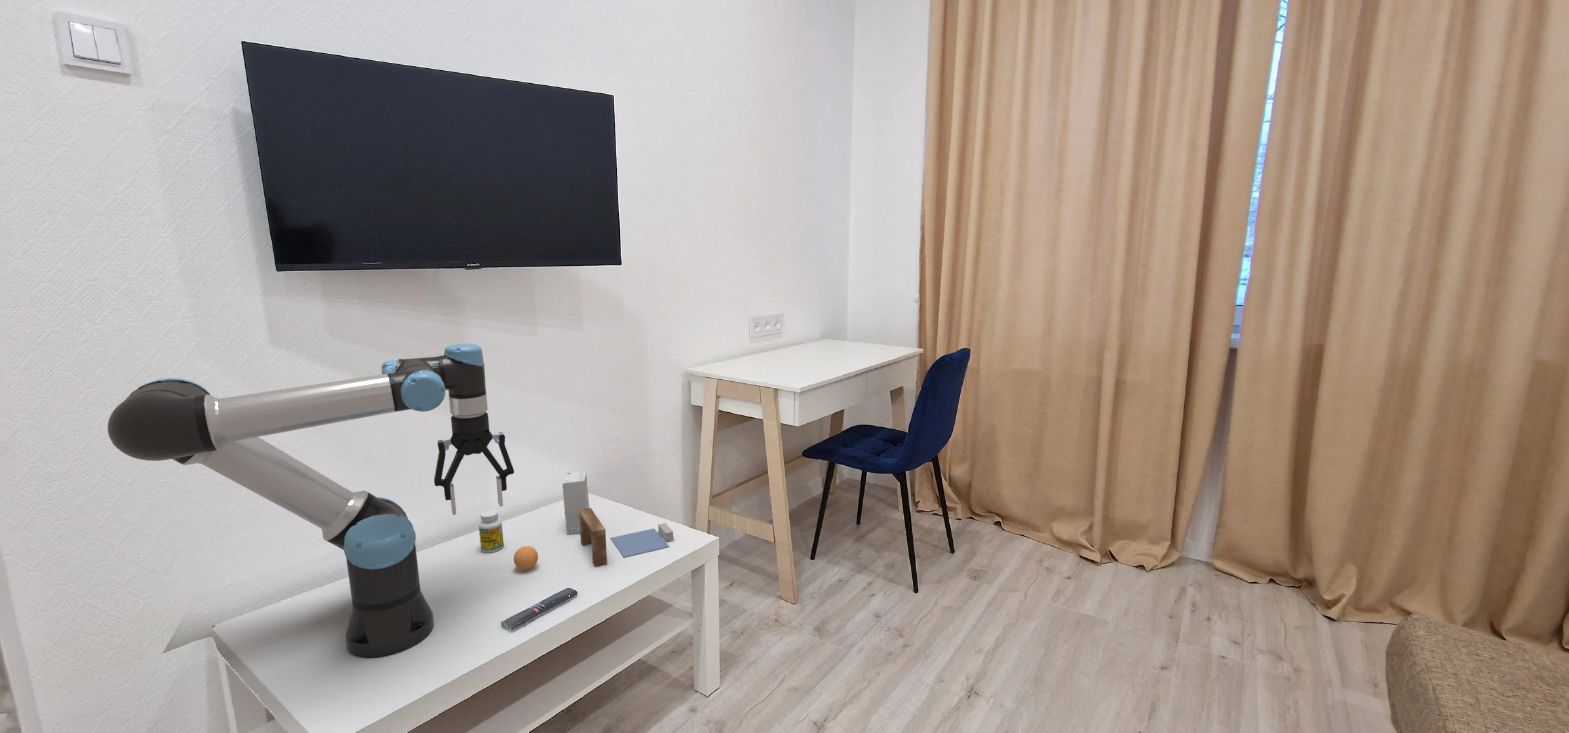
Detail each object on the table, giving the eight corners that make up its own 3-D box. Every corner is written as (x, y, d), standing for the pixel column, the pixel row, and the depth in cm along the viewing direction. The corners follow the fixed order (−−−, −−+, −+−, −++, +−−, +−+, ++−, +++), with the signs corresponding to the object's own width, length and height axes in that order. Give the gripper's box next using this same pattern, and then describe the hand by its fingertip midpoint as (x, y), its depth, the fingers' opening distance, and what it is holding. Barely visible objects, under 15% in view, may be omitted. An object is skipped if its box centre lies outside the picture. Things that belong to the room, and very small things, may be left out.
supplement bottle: (506, 543, 172) (503, 508, 170) (500, 552, 166) (497, 517, 164) (484, 544, 171) (481, 509, 169) (478, 553, 166) (474, 518, 164)
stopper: (666, 542, 173) (665, 533, 172) (658, 533, 178) (658, 524, 178) (673, 540, 174) (673, 531, 173) (665, 531, 179) (665, 523, 179)
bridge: (594, 567, 160) (592, 531, 158) (580, 542, 172) (579, 510, 170) (607, 564, 161) (605, 529, 159) (592, 540, 174) (590, 507, 172)
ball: (516, 576, 155) (514, 554, 154) (512, 566, 160) (511, 545, 159) (540, 570, 158) (539, 549, 157) (536, 560, 162) (535, 540, 161)
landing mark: (623, 557, 164) (623, 557, 164) (610, 538, 175) (610, 537, 175) (669, 547, 170) (669, 546, 170) (654, 529, 181) (654, 528, 180)
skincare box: (588, 533, 178) (585, 481, 175) (565, 535, 176) (562, 482, 173) (590, 520, 186) (587, 470, 183) (567, 521, 184) (565, 471, 181)
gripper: (518, 403, 155) (525, 493, 159) (413, 415, 144) (423, 511, 149) (524, 411, 148) (530, 505, 153) (413, 424, 138) (424, 524, 142)
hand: (477, 508), depth 151 cm, fingers open, 9 cm apart
